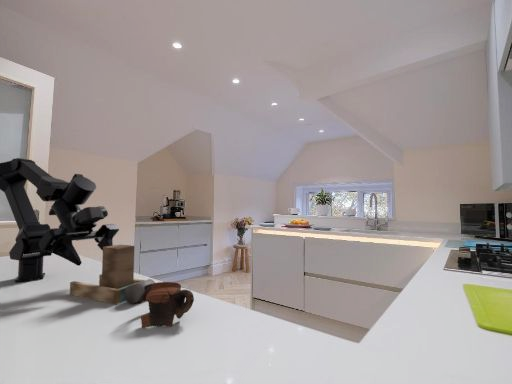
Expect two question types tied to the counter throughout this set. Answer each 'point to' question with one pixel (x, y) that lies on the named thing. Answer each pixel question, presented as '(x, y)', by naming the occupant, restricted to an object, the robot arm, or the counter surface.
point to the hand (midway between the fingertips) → (97, 260)
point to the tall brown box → (118, 266)
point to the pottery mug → (165, 303)
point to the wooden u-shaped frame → (110, 291)
